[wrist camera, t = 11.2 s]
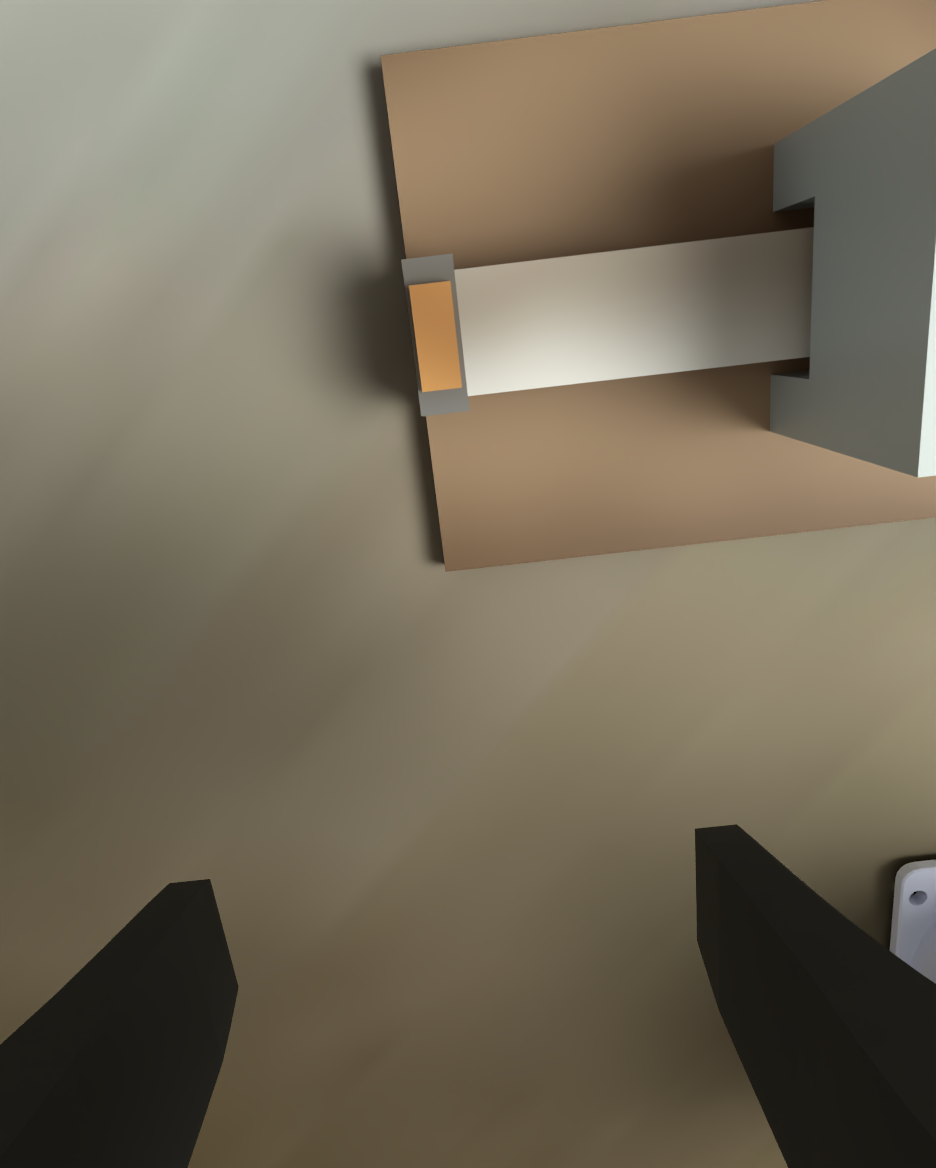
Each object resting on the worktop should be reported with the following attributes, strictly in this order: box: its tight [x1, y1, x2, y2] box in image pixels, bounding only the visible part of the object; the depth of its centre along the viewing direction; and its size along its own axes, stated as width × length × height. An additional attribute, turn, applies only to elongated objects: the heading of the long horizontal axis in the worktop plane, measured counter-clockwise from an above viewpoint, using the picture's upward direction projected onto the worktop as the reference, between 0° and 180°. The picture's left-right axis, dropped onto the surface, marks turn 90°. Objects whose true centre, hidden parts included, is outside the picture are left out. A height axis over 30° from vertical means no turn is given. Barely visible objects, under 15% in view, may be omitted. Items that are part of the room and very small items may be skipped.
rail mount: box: [381, 0, 936, 572], centre depth 16 cm, size 11×18×3 cm, turn 96°
